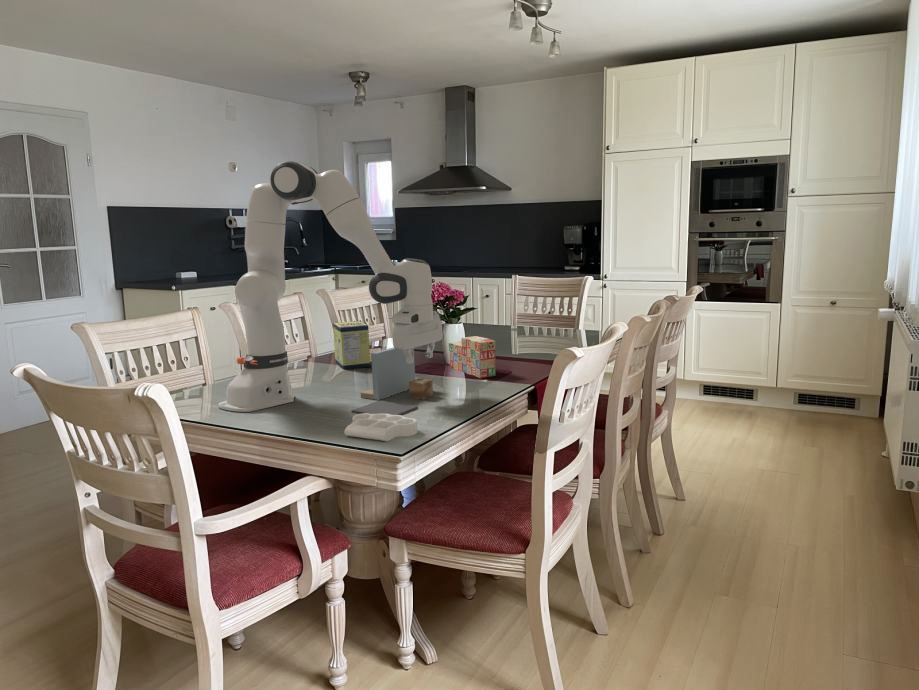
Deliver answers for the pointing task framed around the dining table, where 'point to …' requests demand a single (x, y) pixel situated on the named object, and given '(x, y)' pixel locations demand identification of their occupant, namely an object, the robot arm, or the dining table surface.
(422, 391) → the walnut cube
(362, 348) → the protein box
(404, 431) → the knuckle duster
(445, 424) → the dining table surface
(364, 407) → the mat
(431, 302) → the robot arm
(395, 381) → the pale blue flat slab
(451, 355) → the stack of blocks
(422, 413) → the dining table surface
